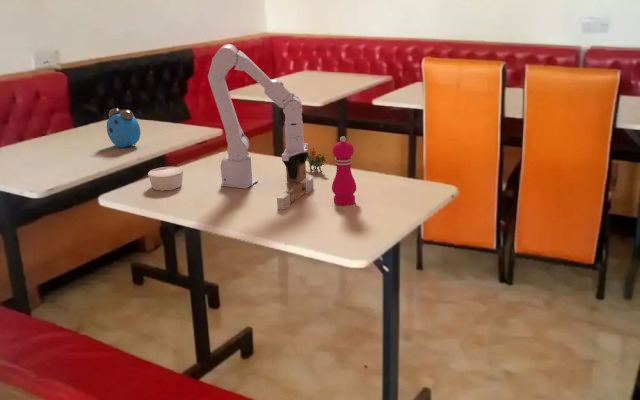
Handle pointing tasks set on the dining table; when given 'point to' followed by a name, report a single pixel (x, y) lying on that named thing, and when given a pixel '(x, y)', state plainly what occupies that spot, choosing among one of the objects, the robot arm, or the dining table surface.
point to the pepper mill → (343, 174)
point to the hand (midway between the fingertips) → (296, 176)
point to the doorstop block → (298, 174)
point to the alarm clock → (123, 128)
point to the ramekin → (166, 178)
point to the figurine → (315, 160)
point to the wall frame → (284, 199)
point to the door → (297, 192)
